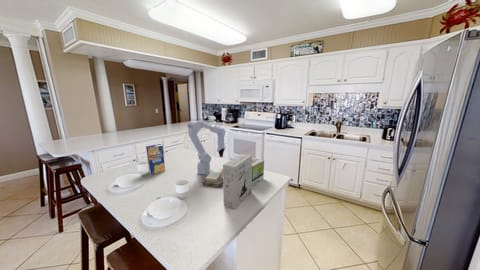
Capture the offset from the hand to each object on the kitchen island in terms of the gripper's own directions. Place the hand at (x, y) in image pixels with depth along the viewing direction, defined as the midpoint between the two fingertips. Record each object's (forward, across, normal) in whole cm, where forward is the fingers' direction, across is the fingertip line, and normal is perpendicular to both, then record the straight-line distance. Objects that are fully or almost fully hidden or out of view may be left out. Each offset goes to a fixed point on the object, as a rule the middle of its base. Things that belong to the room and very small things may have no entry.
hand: (221, 156), depth 155 cm
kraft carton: (+10, -26, -3) cm, 28 cm away
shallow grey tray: (+9, -27, -4) cm, 29 cm away
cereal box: (+10, -44, -26) cm, 52 cm away
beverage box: (+10, -21, +49) cm, 54 cm away
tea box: (+10, -19, -31) cm, 38 cm away
